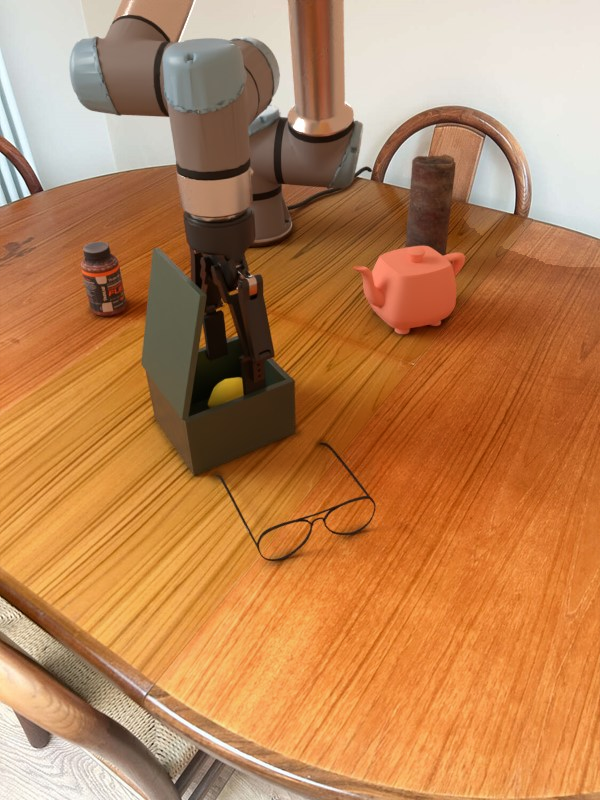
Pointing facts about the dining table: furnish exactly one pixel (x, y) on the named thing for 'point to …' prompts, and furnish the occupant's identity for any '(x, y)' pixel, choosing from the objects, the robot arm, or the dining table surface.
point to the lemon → (226, 391)
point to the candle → (430, 202)
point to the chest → (227, 413)
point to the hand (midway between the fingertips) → (235, 375)
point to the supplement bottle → (102, 280)
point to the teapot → (412, 286)
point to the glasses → (306, 516)
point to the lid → (172, 331)
